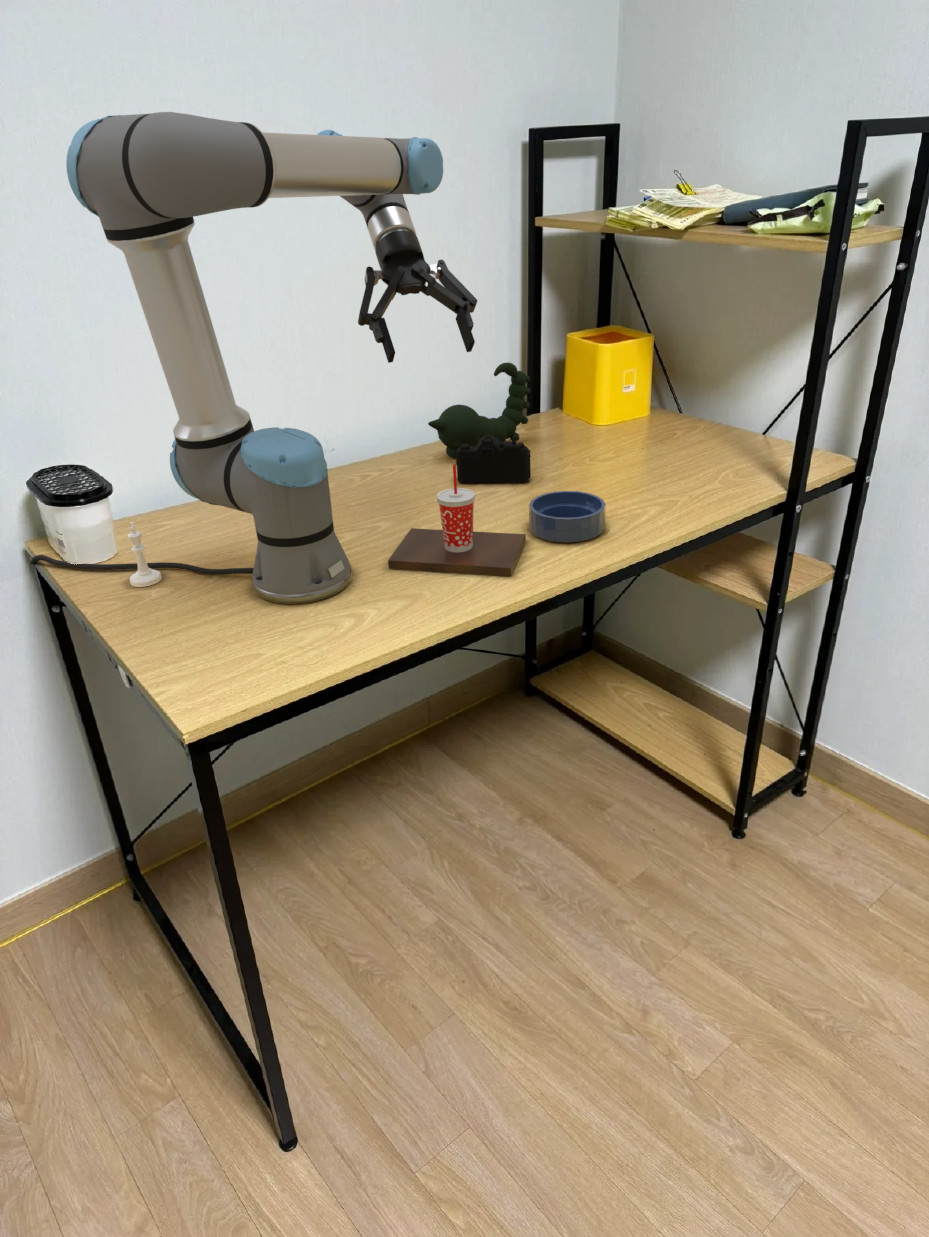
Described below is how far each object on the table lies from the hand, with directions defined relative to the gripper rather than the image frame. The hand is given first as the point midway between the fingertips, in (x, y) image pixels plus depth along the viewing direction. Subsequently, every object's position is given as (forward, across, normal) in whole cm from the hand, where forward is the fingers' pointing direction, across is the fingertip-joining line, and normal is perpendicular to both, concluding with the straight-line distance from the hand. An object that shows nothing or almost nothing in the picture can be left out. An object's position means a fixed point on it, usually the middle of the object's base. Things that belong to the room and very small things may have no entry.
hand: (432, 352), depth 141 cm
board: (+31, +2, -11) cm, 33 cm away
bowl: (+30, -18, -12) cm, 37 cm away
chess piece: (+21, +51, -21) cm, 59 cm away
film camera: (+9, -17, -33) cm, 39 cm away
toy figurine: (-2, -21, -44) cm, 49 cm away
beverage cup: (+30, +2, -10) cm, 32 cm away
